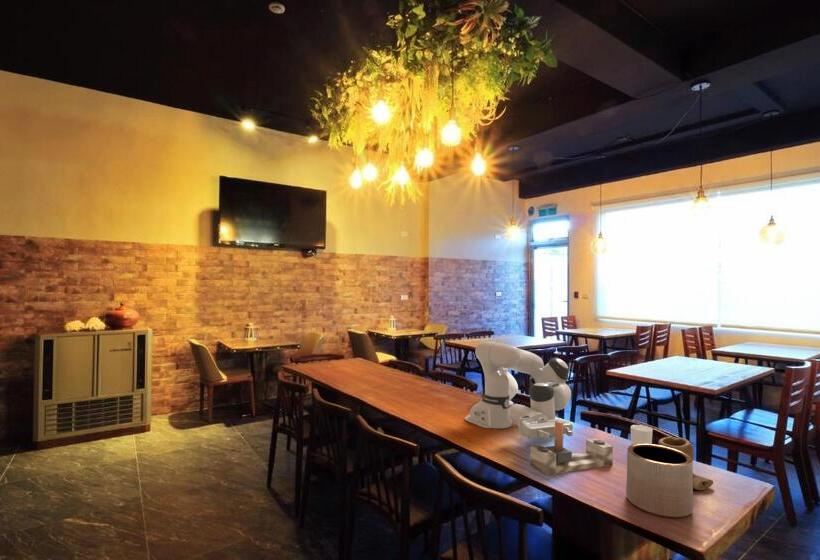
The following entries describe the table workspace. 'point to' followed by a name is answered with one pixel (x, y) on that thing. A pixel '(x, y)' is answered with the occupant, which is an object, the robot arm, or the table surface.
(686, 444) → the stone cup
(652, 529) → the table surface
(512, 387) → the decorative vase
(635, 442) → the white cup
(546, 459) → the rail track
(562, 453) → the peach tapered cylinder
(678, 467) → the planter
